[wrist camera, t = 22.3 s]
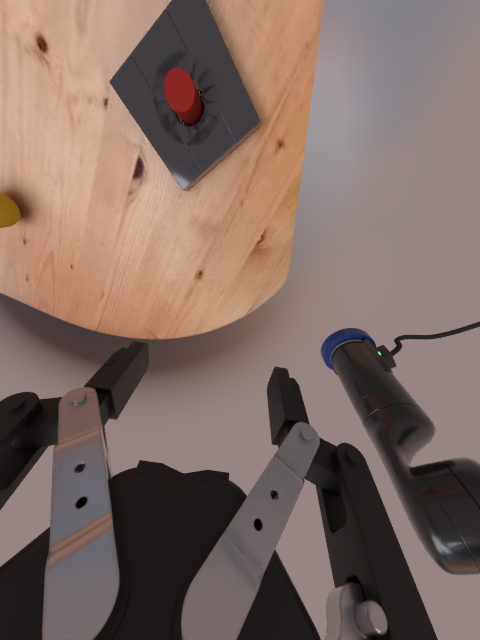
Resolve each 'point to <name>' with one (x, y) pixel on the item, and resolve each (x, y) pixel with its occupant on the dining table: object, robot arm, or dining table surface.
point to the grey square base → (208, 76)
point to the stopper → (183, 96)
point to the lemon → (8, 211)
